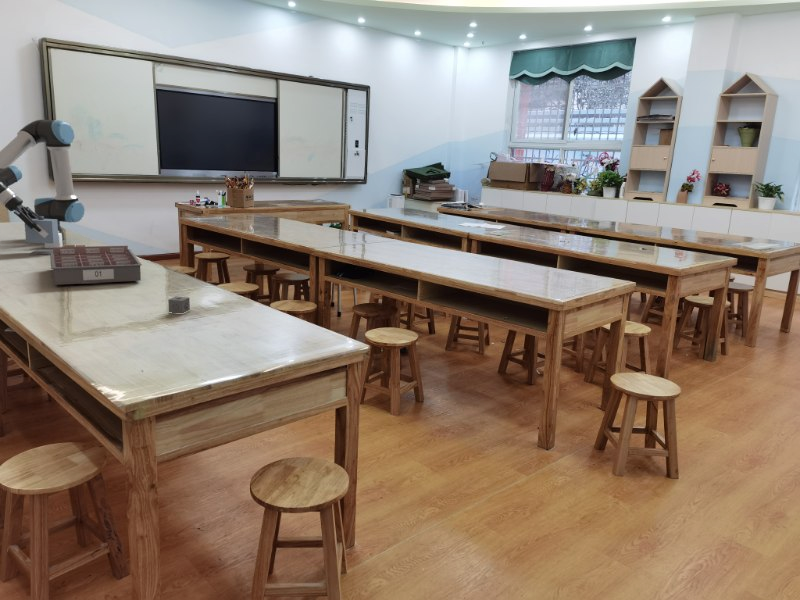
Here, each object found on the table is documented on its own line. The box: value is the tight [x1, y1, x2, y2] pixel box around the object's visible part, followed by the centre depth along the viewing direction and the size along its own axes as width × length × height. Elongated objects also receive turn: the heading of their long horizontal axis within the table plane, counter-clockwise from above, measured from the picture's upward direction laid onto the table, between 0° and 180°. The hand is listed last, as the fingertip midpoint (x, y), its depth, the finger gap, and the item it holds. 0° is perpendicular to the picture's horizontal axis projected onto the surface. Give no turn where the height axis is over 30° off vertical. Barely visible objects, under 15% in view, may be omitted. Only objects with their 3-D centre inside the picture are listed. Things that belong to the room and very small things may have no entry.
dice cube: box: [167, 295, 191, 313], centre depth 206 cm, size 5×5×5 cm
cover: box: [24, 216, 59, 244], centre depth 295 cm, size 8×12×13 cm, turn 102°
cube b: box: [75, 244, 86, 247], centre depth 302 cm, size 4×4×4 cm
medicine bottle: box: [43, 226, 64, 249], centre depth 313 cm, size 7×7×12 cm
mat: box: [28, 249, 53, 256], centre depth 299 cm, size 12×10×1 cm
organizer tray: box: [49, 245, 143, 286], centre depth 253 cm, size 32×40×10 cm
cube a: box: [63, 244, 76, 247], centre depth 301 cm, size 4×4×4 cm
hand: (49, 234), depth 297 cm, fingers closed on cover, 8 cm apart
